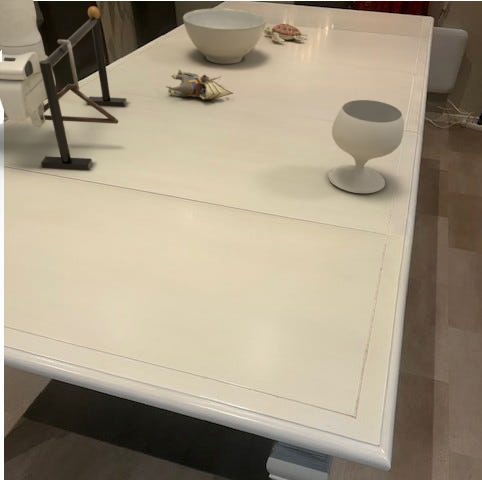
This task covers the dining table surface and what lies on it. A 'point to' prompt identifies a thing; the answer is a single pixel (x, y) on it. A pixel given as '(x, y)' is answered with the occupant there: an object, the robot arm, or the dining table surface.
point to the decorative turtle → (284, 33)
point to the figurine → (197, 86)
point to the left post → (102, 66)
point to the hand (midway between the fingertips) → (39, 124)
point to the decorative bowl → (224, 32)
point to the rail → (54, 106)
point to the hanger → (75, 89)
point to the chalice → (365, 142)
